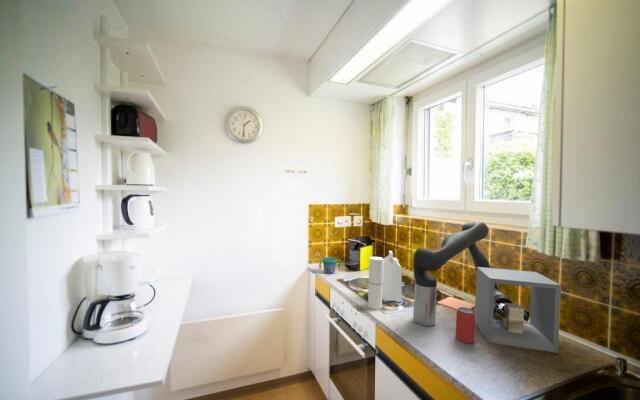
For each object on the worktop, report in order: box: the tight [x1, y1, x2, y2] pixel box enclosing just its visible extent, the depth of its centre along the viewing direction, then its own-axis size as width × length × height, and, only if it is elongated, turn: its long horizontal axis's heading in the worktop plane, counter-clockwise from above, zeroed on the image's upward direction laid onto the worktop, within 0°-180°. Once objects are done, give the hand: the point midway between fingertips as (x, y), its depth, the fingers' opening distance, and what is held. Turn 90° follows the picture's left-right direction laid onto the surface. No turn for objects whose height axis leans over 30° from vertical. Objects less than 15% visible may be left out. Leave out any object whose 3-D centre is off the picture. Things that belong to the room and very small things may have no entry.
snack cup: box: [318, 256, 341, 275], centre depth 193 cm, size 16×10×10 cm
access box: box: [474, 267, 562, 354], centre depth 110 cm, size 18×23×26 cm
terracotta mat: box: [436, 296, 475, 311], centre depth 141 cm, size 14×14×1 cm
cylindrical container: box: [367, 256, 384, 310], centre depth 136 cm, size 7×7×25 cm
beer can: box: [455, 307, 476, 344], centre depth 106 cm, size 7×7×12 cm
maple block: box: [503, 302, 524, 334], centre depth 109 cm, size 5×5×10 cm
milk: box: [382, 250, 403, 302], centre depth 148 cm, size 12×12×26 cm
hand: (515, 317), depth 107 cm, fingers open, 7 cm apart
